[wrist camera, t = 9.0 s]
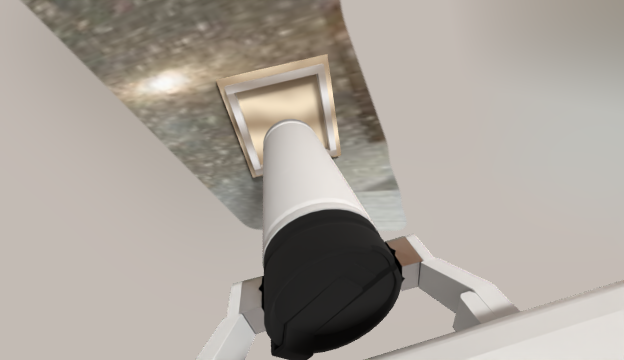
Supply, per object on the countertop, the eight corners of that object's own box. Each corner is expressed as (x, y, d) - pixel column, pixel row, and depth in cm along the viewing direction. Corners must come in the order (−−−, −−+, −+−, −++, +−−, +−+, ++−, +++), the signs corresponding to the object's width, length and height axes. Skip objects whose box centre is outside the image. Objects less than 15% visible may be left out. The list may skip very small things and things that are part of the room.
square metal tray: (216, 79, 32) (213, 81, 30) (325, 54, 33) (329, 54, 31) (253, 175, 40) (252, 181, 38) (339, 153, 41) (343, 158, 39)
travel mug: (249, 150, 26) (220, 348, 8) (288, 105, 24) (351, 237, 7) (290, 180, 28) (331, 374, 11) (327, 142, 27) (441, 300, 10)
